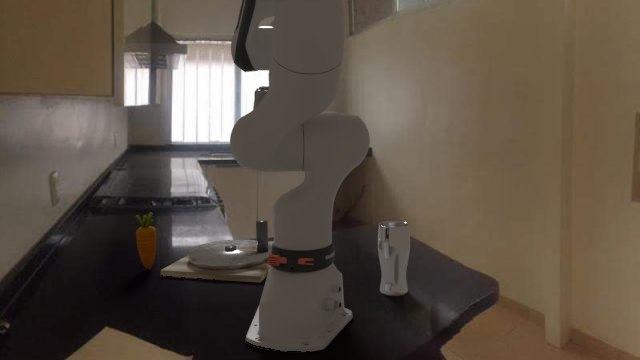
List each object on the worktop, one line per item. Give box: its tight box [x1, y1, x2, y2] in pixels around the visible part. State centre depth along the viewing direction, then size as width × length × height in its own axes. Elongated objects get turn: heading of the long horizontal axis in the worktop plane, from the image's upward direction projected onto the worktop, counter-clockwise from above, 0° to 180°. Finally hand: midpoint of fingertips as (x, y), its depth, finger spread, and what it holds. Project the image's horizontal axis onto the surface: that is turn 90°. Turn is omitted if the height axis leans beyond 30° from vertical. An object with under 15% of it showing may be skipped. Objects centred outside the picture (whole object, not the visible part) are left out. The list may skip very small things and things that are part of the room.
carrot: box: [135, 211, 158, 270], centre depth 120 cm, size 5×5×15 cm
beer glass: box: [377, 220, 411, 297], centre depth 102 cm, size 7×7×15 cm
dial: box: [187, 219, 272, 270], centre depth 125 cm, size 22×22×10 cm
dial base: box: [160, 254, 272, 283], centre depth 126 cm, size 26×26×2 cm
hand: (287, 142), depth 119 cm, fingers open, 8 cm apart
